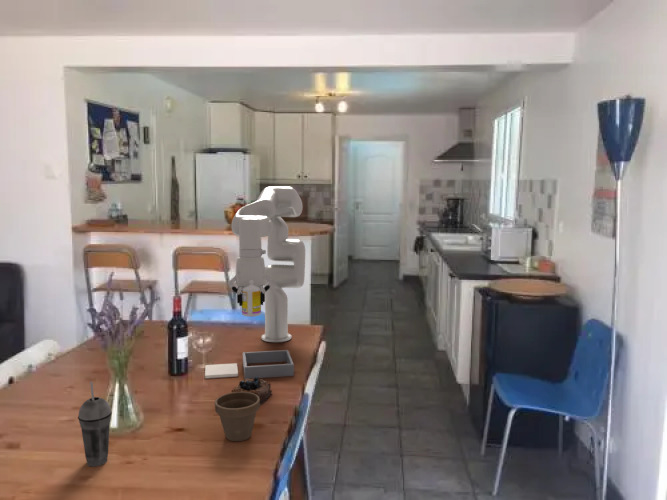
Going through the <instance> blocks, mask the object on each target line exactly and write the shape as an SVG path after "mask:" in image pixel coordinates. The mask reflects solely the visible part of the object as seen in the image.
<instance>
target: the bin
mask: <svg viewBox="0 0 667 500" xmlns="http://www.w3.org/2000/svg"><path fill="white" fill-rule="evenodd" d="M281 362H286V363H284V364H282V363H281ZM262 363H264V364H265V363H279V364H265V365H250V366H249V364H262ZM280 363H281V364H280ZM242 367H243V374H244V375H243V376H244V379H247V378H248V379H254V378H255V377H258V379H263V378H280V377H293V376H294V377H295V365H294V362H293V359H292V357H291V354H290V351H289V349H284V350H264V351H248V352H247V351H246V352H245V351H243V352H242Z"/></svg>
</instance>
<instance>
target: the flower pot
mask: <svg viewBox="0 0 667 500" xmlns="http://www.w3.org/2000/svg"><path fill="white" fill-rule="evenodd" d="M231 392H232V391H231ZM231 392H228V393H225V394H222V395H220V396H218V397H217V398H216V399H215V400H214V410H215V412H216V414H217V415H219V418H220V422H221V426H222V430H223V432H224V436H225V438H226V439H227V440H229V441H230V442H231V441H232V442H243V441H246V440H248V439H249V438H251V436H252V433H253V429H254V424H255V420H256V415H257V412H258V411H259V410H260V407H261V405H260V398H259V396H258V395H256V394H254V393H250V392H232V393H231Z"/></svg>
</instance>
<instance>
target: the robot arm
mask: <svg viewBox="0 0 667 500" xmlns="http://www.w3.org/2000/svg"><path fill="white" fill-rule="evenodd" d="M302 212H303V200H302V199H301V197H300V195H299V193H298V191H297V190H296V189H295V188H293V187H292V186H267V187H265V188H263V189H262V190H261V192H260V194H259V196H258V197H257V199H256V201H254V202H252V203H248V204H246V205H244V206H242V207H241V208H239V209H238V210H237V211H236V213H235V214H234V216H233V218H232V221H231V232H232V233H233V234H234V235H235V236H236V237H238V242H239V243H238V245H239V247H238V250H239V251H238V252H239V253H238V254H239V257H237V258H236V265H235V275H234V276H233V277H232V278H230V280H229V281H228V282H227V285H228V287H229V288H230V289H231V290H232V291H233V292H235V294H236V301H237V302H236V303H237V304H238V305H239V307H242V294H241V290H242V288H243V287H247V286H249V285H250V284H249V281H250V280H253V282H254V284H253V285H254V286H259V287H260V289H261V306H264V334H262V335H261V340H262V341H264V342H267V343H268V342H269V343H284V342H287V341H290V340H291V339H292V334H290V333H289V332H288V329H289V327H288V326H289V325H288V318H289V317H288V311H289V310H288V301H289V300H288V299H289V298H288V295H287V294H286V291H285V290H284V289H285V288H286V289H288V288H289V289H291V288H292V289H299V288H301V287H302V286H304V283H305V273H306V271H305V270H306V269H305V268H306V247H305V246H306V245H305V242H303V241H302V240H301V239H297V238H289V226H288V224H287V223H286V221H285V220H284V219H283V218H285V217H286V218H296V217H300V215H301V214H302ZM266 237H267V247H266V249H267V251H266V249H262V238H266ZM266 252H267V258H268V259H269V260H270V261H272V262H285V263H286V262H289V263H293V264H269V265H266V264H265V258H264V256H263V255H265V254H266ZM265 265H266V266H265ZM234 283H235V284H236V286H237V287H236V286H235V285H234ZM283 288H284V289H283Z"/></svg>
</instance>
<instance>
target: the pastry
mask: <svg viewBox="0 0 667 500" xmlns="http://www.w3.org/2000/svg"><path fill="white" fill-rule="evenodd" d="M271 387H272V386H271V383H270V382H268V381H267V380H264V379H263V378H258V377H255V378H250V379H248V378H247V379H245V378H243V380H240V381H239V384H238V385H236V386H235V387H234V388H232V390H231V392H230V393H232V392H250V393H254V394H256V395H258V396H259V398H260V406H261V405H262V404H264V403H266V401H267V400H268V399H269V398H270V397H271V396H273V393H272V389H271Z"/></svg>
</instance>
